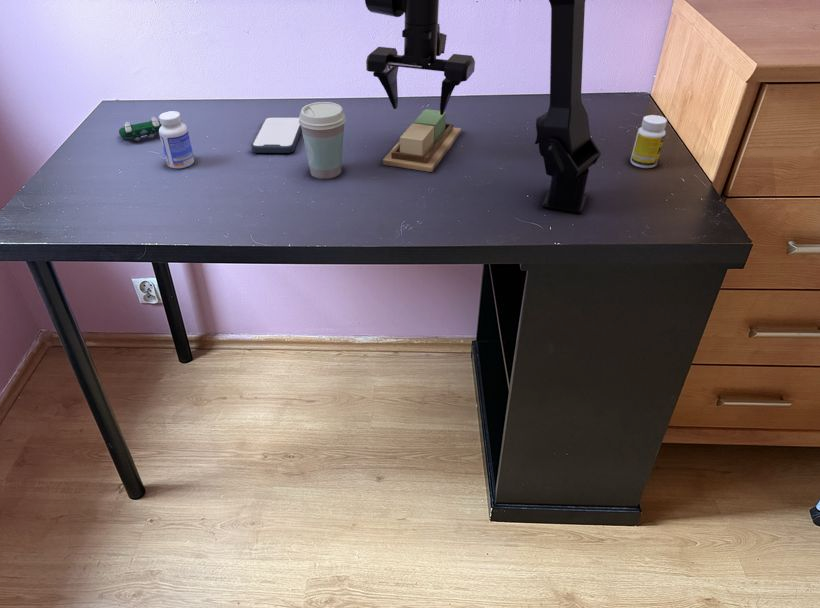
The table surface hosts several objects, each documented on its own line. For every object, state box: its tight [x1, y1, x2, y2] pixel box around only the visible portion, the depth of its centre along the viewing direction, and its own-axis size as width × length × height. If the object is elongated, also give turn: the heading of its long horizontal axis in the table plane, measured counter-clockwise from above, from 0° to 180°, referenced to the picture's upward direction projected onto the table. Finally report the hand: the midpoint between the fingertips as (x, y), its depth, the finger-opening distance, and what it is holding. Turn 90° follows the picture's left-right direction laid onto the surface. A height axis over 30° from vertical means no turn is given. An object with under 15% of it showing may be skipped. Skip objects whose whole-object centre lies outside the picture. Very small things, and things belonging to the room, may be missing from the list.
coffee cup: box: [298, 101, 347, 180], centre depth 121 cm, size 8×8×12 cm
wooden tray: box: [382, 122, 462, 173], centre depth 131 cm, size 19×10×2 cm, turn 157°
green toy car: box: [118, 116, 162, 142], centre depth 139 cm, size 9×4×6 cm
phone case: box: [251, 116, 302, 154], centre depth 137 cm, size 9×2×16 cm
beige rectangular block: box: [399, 122, 434, 156], centre depth 127 cm, size 7×4×4 cm, turn 157°
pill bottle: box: [158, 110, 195, 170], centre depth 127 cm, size 5×5×10 cm
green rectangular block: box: [413, 108, 447, 144], centre depth 132 cm, size 7×4×4 cm, turn 157°
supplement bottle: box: [629, 114, 668, 169], centre depth 121 cm, size 5×5×8 cm
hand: (418, 111), depth 123 cm, fingers open, 9 cm apart
